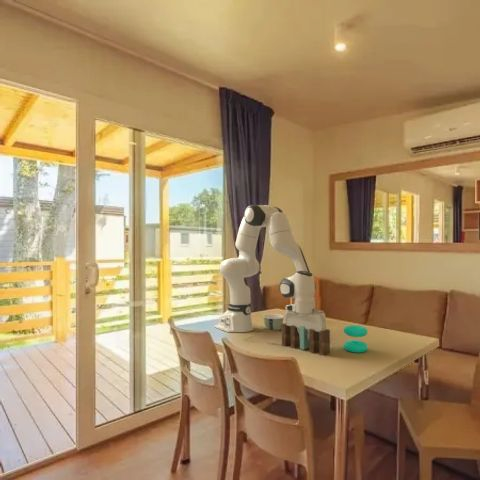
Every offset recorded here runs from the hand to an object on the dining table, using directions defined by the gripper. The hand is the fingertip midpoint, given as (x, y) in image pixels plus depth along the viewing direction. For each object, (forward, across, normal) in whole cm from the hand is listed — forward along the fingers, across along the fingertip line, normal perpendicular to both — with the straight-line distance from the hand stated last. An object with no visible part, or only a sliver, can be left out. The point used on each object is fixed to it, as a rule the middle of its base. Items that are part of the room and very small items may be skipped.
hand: (305, 338), depth 164 cm
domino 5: (+5, -10, 0) cm, 11 cm away
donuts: (+5, -17, -14) cm, 23 cm away
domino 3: (+4, 0, 0) cm, 4 cm away
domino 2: (+5, +5, 0) cm, 7 cm away
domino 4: (+5, -5, 0) cm, 7 cm away
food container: (+5, +35, -21) cm, 41 cm away
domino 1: (+5, +10, 0) cm, 11 cm away
